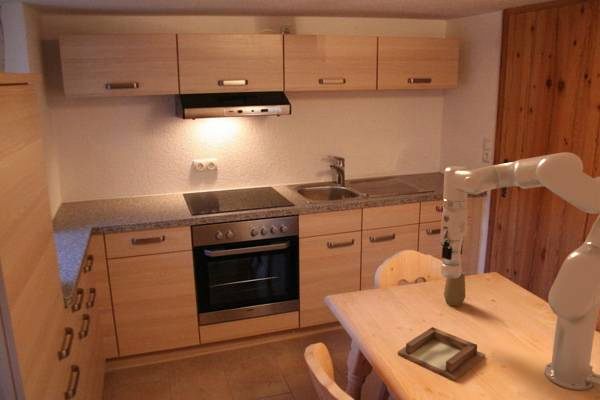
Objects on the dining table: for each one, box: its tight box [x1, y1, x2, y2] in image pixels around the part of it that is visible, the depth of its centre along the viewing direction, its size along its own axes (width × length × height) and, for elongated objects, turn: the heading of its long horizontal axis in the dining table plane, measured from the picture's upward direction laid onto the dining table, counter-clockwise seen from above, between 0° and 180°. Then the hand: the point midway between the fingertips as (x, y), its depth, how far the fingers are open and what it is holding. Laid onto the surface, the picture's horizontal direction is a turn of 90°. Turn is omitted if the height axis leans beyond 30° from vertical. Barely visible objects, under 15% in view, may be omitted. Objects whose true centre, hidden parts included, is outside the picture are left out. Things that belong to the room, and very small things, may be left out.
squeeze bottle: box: [443, 268, 467, 307], centre depth 188 cm, size 8×8×18 cm
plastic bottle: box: [440, 234, 464, 278], centre depth 165 cm, size 6×7×20 cm
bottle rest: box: [397, 326, 486, 382], centre depth 155 cm, size 20×18×4 cm
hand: (452, 255), depth 165 cm, fingers closed on plastic bottle, 6 cm apart
